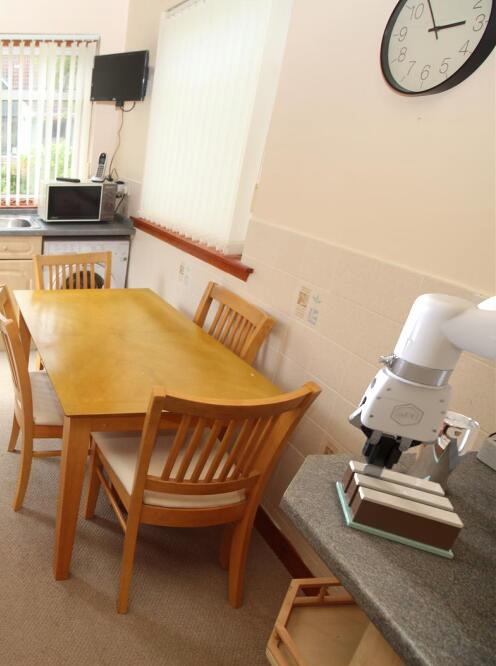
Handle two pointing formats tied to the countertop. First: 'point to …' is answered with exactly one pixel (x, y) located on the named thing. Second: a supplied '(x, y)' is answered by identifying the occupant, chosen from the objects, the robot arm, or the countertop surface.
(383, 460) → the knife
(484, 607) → the countertop surface
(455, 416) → the beer glass
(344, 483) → the slatted panel
